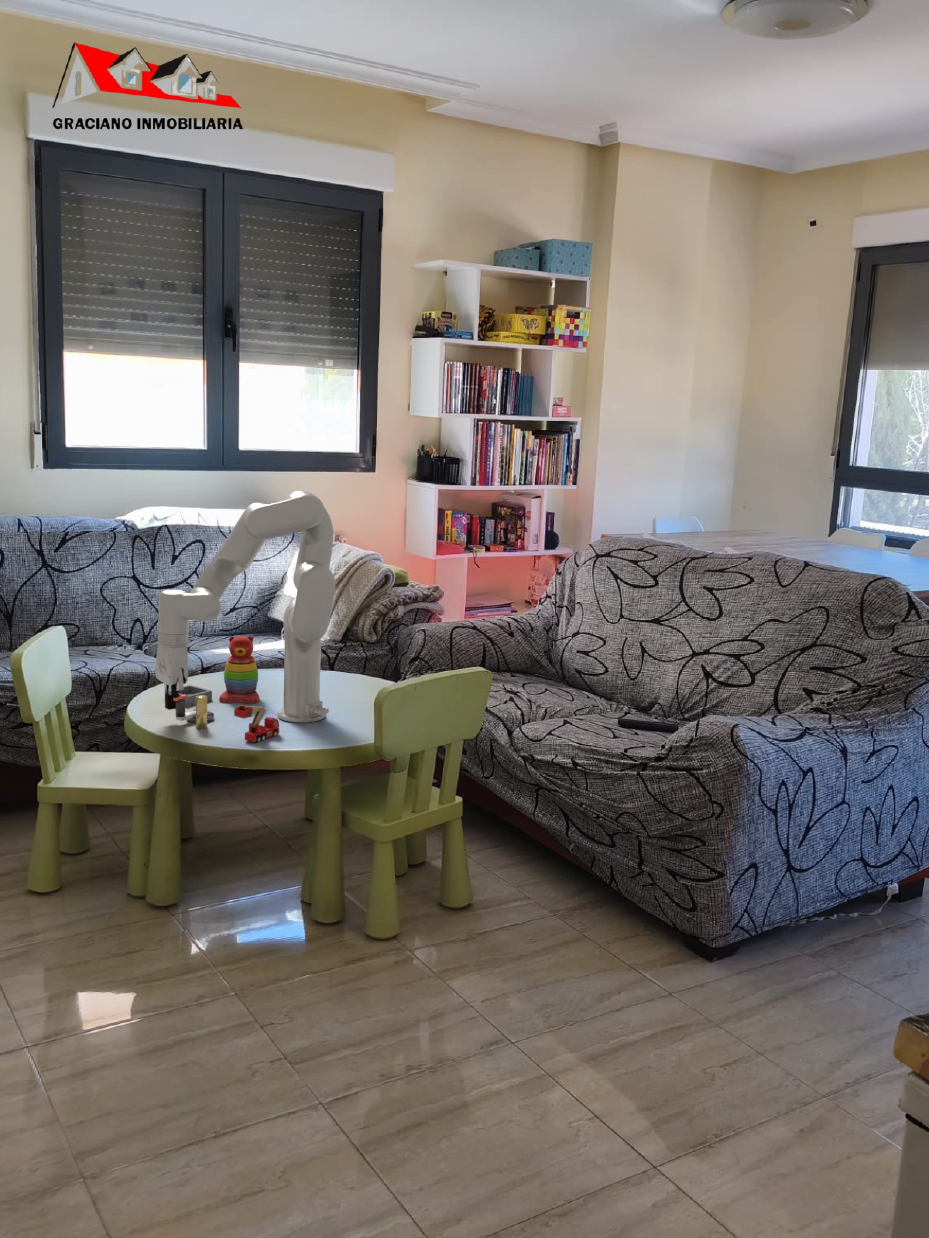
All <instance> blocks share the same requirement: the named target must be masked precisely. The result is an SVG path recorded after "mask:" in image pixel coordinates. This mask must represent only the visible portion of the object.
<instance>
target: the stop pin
mask: <svg viewBox="0 0 929 1238" xmlns="http://www.w3.org/2000/svg"><path fill="white" fill-rule="evenodd" d="M195 709H196V723H195V729H199V730H200V729H201V730H205V729H206V728H208V722H207V711H208V701H207V696H204V695H199V696H196V704H195Z"/></svg>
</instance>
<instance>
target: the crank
mask: <svg viewBox="0 0 929 1238" xmlns="http://www.w3.org/2000/svg"><path fill="white" fill-rule="evenodd" d="M186 698H187V695H181V696H177V697H174V698H173V701H176V709H175V720H176V721H180V722H182V721H187V719H190V718H193V717H196V708H194V709H193V710H190V711H187V712H186V706H185V699H186Z"/></svg>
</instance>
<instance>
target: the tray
mask: <svg viewBox="0 0 929 1238" xmlns="http://www.w3.org/2000/svg"><path fill="white" fill-rule="evenodd" d="M183 686H184V690H181V691H180V696H181V695H187V698H186V699H185V707H189V706H193V705H196V696H199V695H204V696H207V702H209V701H212V700H213V690H211V689H206V688H204V687H203V688H202V687H199V686H195V685H192V684H188V685H183Z"/></svg>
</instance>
